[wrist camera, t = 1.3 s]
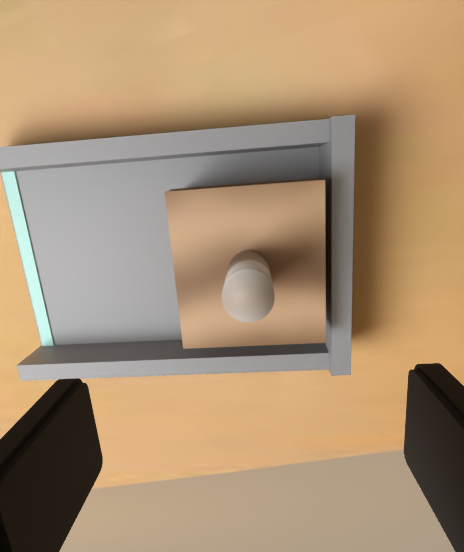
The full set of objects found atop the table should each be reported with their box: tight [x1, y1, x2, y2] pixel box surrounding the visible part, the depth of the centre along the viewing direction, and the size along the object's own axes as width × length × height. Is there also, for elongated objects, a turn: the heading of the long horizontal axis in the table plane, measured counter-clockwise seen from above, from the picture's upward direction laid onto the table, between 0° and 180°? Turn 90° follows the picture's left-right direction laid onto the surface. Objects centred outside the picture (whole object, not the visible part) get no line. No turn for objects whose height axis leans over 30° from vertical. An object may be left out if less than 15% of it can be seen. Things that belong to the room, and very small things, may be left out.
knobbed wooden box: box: [164, 178, 326, 349], centre depth 26 cm, size 12×11×13 cm
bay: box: [0, 114, 355, 381], centre depth 31 cm, size 20×30×6 cm
